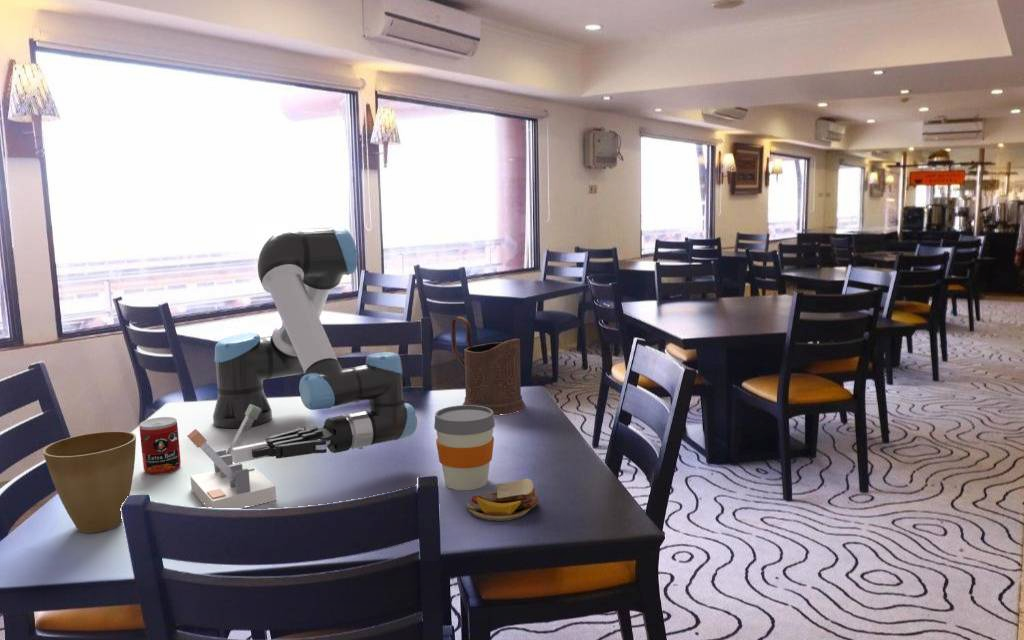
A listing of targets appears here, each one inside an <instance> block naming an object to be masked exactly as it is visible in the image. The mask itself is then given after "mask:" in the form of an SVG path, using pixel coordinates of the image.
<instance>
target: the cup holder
mask: <svg viewBox="0 0 1024 640" xmlns="http://www.w3.org/2000/svg"><path fill="white" fill-rule="evenodd" d="M457 321H461V322H462V323H463V324H464V326H465V342H466V345H467V348H464V350H463V352H464V358H463V356H462V355H461V354H460V352H459V350H458V348H457V336H456V335H457V334H456V333H457V332H456V330H457V329H456V323H457ZM450 339H451V342H450V343H451V351H452V353H453V355H454V356H455V357H456V359H457V360H458V362H459V363H460V365H461V366H462V367H463V369H464V385H465V389H464V390H465V397H464V402H463V403H462V405H476V406H483V407H487V408H490V409H491V410H492V411H493V414H494V415H499V416H501V415H500V414H508V415H510V414H509V413H513V414H515V413H514V412H517V411H520V410H522V409H524V408H525V407H527V405H526V403H525V401H524V400H523V396H522V393H521V391H522V390H521V389H522V386H521V384H522V383H521V381H522V380H521V339H520V338H513V339H510V340H509V339H508V340H505V341H504V342H489V343H483V344H478V345H473V344H472V329H471V323H470V322H469V320H468V319H466V318H465V317H463V316H456V317H454V318H452V319H451V321H450ZM525 405H526V406H525ZM525 409H526V408H525ZM525 409H524V410H525ZM522 411H523V410H522ZM520 412H521V411H520ZM517 413H518V412H517Z"/></svg>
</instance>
